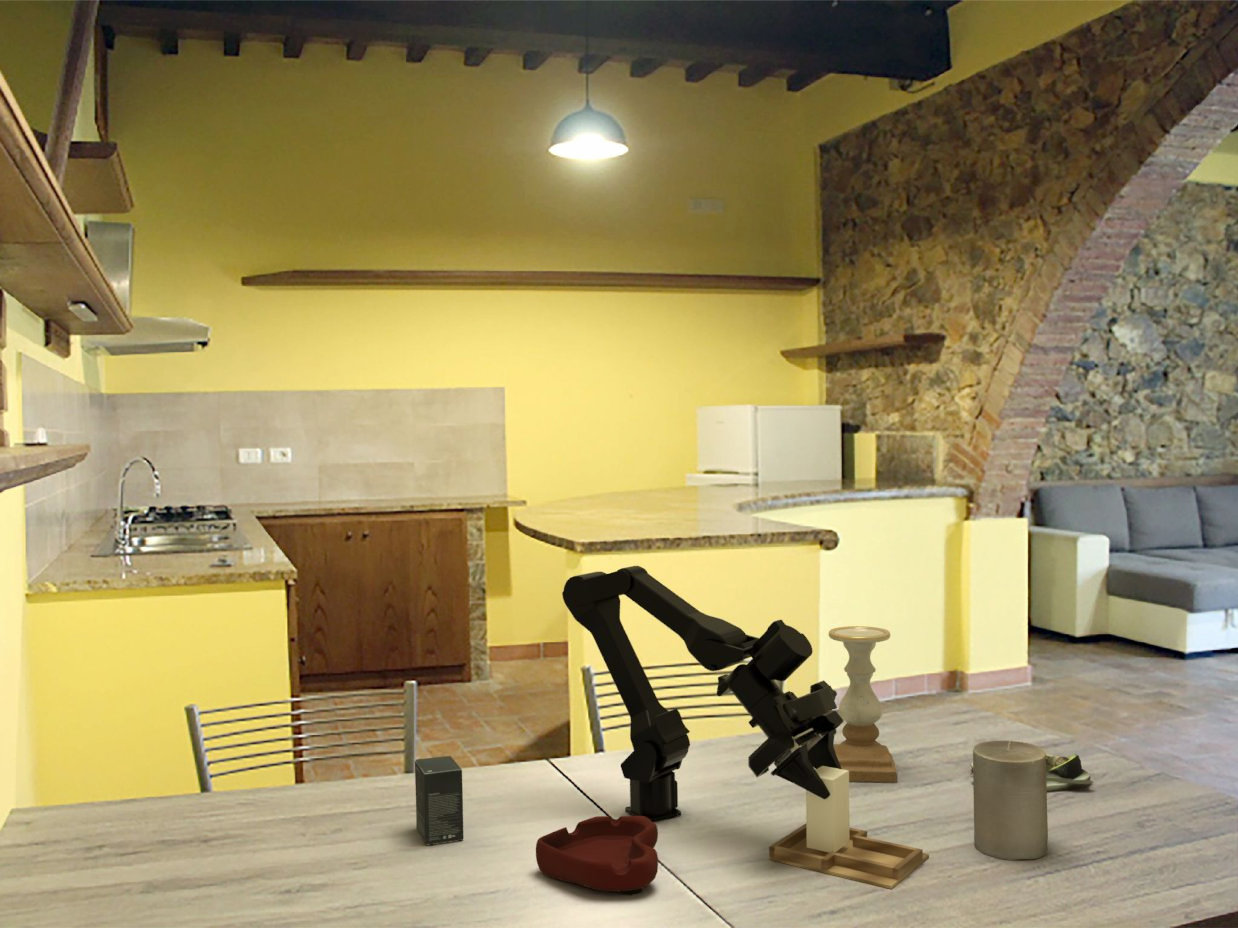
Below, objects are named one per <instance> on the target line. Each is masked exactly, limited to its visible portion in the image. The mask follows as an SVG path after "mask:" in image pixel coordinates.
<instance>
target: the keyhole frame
mask: <svg viewBox="0 0 1238 928" xmlns="http://www.w3.org/2000/svg"><path fill="white" fill-rule="evenodd" d="M849 841H850V842H849V843H847V844H846V845H845V846H843V847H842V848H840V849H839V850H838V851H836V852H830V853H829V852H825V851H821V850H816V849H812V848H808V847H807V830H806V823H804V824H802V825H801V826H799V827H798V828H796V829H795V830H793V831H792V832H790V833H789V834H787V835H785V836H784V837H782V838H781V839H779V840H777V841H776V842H774V843H772V844H771V845H770V846H768V853H769V858H768V859H769V860H770V861H773V862H777V863H781V864H787V865H789V866H794V867H799V868H803V869H806V870H809V871H815V872H819V873H823V874H828V875H832V876H836V877H839V878H840V877H841V878H844V879H848V880H851V881H857V882H860V883H864V884H869V885H873V886H876V887H881V888H885V889H889V890H892V889H893V888H895V887H896V886H897V885H898V884H899V883H901V882H902V881H903V880H904V879H905V878H906V877H909V875H910V874H911V873H912V872H914V871H915V870H916V869H917V868H918V867H920V866H921V865H922V864H923V863H924V862H926V861H927V860H928V859H929V858H930V854H928V853H924V851H923V849H922V848H919V847H918V848H917V847H913V846H908V845H903V844H899V843H893V842H890V841H884V840H880V839H876V838H871V837H868V831H867V830H863V829H858V828H854V827H850V826H849Z"/></svg>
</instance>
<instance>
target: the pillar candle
mask: <svg viewBox="0 0 1238 928" xmlns="http://www.w3.org/2000/svg"><path fill="white" fill-rule="evenodd" d="M1046 754H1047V753H1046V751H1045V749H1043V748H1042V747H1040V746H1038V745H1035V744H1031V743H1028V742H1023V741H1016V740H989V741H983V742H979V743H978V744H975V745H974V746H973V748H972V762H973V769H972V771H973V772H972V773H973V778H972V781H973V783H972V784H973V835H974V836H973V839H974V840H973V842H974V843H973V844H974V847H975V848H976V849H977V851H979V852H980V853H982V854H984V855H987V856H990V857H993V858H995V859H996V858H997V859H1000V860H1005V859H1007V860H1006V861H1013V860H1014V861H1017V860H1036V859H1040V858H1042V857H1043V856H1045V855H1047V852H1048V846H1049V845H1048V842H1049V839H1048V838H1049V836H1048V835H1049V833H1048V832H1049V830H1048V795H1047V794H1048V793H1047V792H1048V791H1047V782H1046Z"/></svg>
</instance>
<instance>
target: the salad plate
mask: <svg viewBox="0 0 1238 928" xmlns="http://www.w3.org/2000/svg"><path fill="white" fill-rule="evenodd" d="M969 766H970V767H971V769H972V770H973V761H972V762H971V763H970V765H969ZM970 778H972V779H973V772H971V773H970ZM1046 782H1047V792H1050V791H1052V792H1053V791H1067V790H1070V791H1071V790H1075V789H1081V788H1083V787H1085V786H1087V785H1090V784H1094V781H1093V780H1091V774H1090V773H1089V772H1088V771H1087V770H1085V769H1084V768H1083V767H1082V760H1081V758H1080V755H1078V754H1073V755H1071V756H1068V757H1066V756H1059V755H1058V756H1057V755H1055V754H1051V753H1046Z"/></svg>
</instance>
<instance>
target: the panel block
mask: <svg viewBox="0 0 1238 928" xmlns="http://www.w3.org/2000/svg"><path fill="white" fill-rule="evenodd" d="M815 770H816V772H817V773H818V775H819V776H820V778H821V779H822V781H823V782H824V784H825V786H826V787H827V789H828V791H829V793H830V796H829V797H828V798H827V799H822V798H821V797H819V796H817V795H815V794H813V793H811V792H809V791H807V790H806V789H805V798H806V799H805V802H806V803H805V805H806V806H805V807H806V808H805V809H806V815H805V817H806V818H805V819H806V821H805V822H806V823H805V824H806V830H807V847H808V848H812V849H816V850H821V851H825V852H829V853H830V852H836V851H838V850H839V849H840V848H842V847H843V846H845V845H846V844H847V843H849V842H850V841H849V827H850V782H849V771H848V770H843V769H838V768H832V767H827V766H821V767H819V768H818V769H815Z"/></svg>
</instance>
